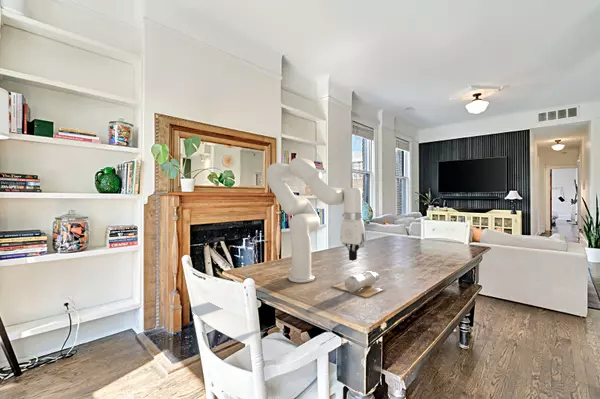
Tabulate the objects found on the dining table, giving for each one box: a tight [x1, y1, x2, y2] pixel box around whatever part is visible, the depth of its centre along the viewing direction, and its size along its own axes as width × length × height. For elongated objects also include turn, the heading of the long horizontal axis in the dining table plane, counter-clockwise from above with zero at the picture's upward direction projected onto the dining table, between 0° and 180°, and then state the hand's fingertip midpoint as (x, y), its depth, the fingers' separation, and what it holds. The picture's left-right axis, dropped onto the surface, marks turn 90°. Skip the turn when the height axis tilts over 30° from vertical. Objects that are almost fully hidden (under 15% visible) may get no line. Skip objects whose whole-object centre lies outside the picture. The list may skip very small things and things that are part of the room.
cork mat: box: [332, 281, 384, 298], centre depth 122 cm, size 18×12×1 cm, turn 42°
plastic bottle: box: [344, 270, 380, 293], centre depth 122 cm, size 6×7×20 cm
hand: (352, 259), depth 120 cm, fingers closed
